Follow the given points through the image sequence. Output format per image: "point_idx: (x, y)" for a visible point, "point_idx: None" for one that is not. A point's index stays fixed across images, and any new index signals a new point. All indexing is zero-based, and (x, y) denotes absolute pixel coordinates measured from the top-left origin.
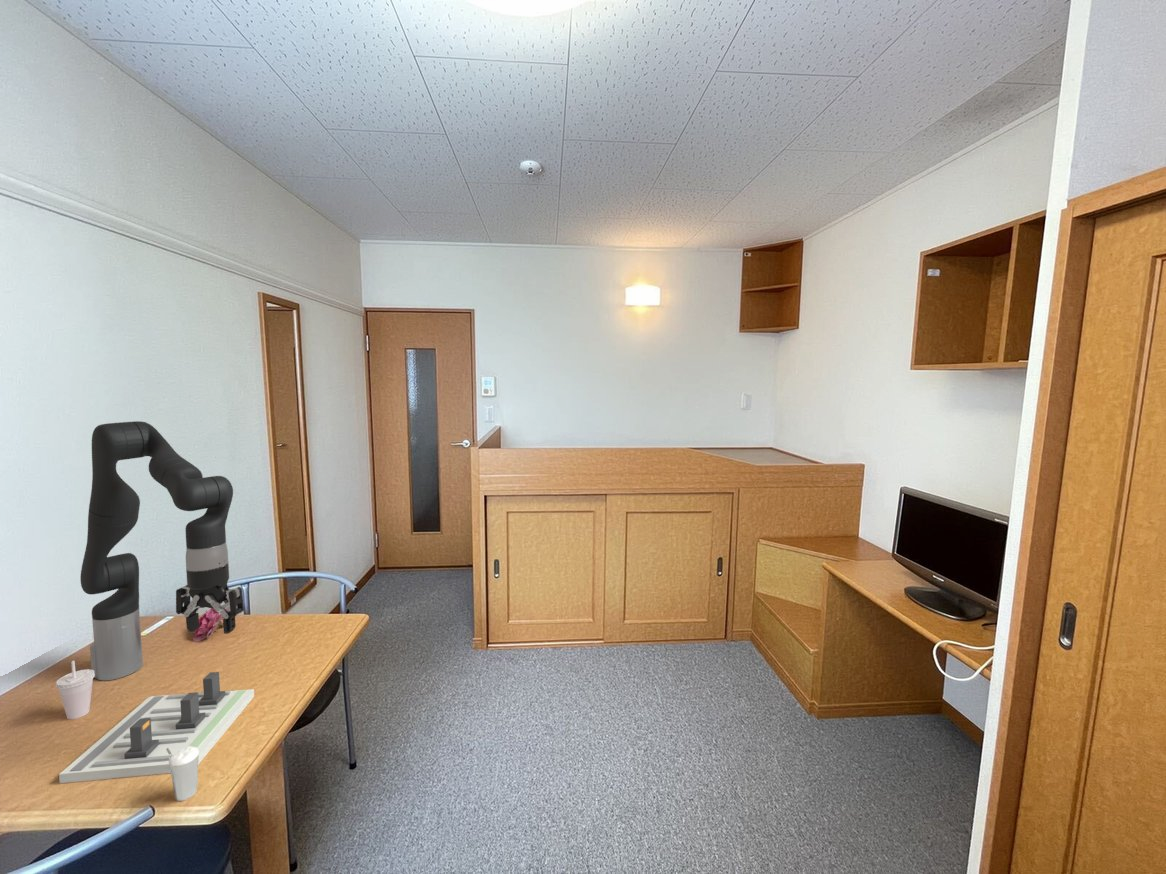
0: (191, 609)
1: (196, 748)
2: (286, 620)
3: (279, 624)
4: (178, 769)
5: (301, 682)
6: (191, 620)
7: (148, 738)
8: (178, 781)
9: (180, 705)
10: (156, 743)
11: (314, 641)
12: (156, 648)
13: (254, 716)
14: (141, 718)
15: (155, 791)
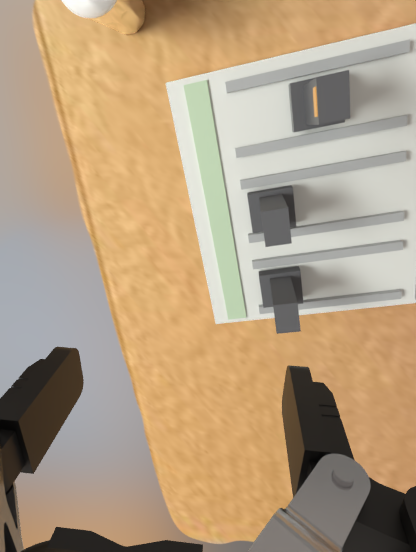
0: (273, 524)
1: (68, 1)
2: None
3: None
4: None
5: (151, 355)
6: (297, 430)
7: (307, 111)
8: None
9: (348, 269)
10: (292, 123)
11: (218, 470)
12: None
13: (169, 256)
14: (345, 118)
15: (204, 13)
